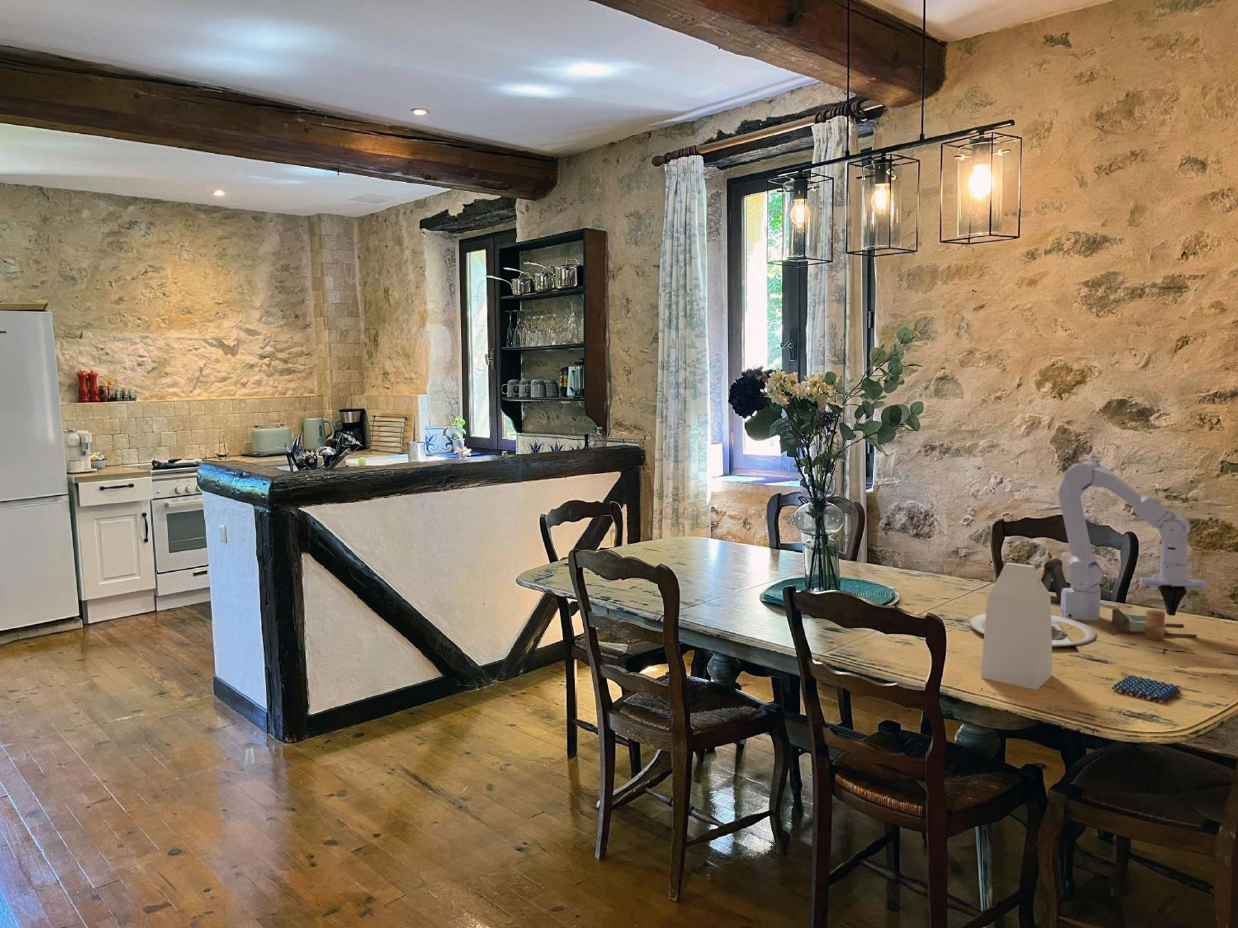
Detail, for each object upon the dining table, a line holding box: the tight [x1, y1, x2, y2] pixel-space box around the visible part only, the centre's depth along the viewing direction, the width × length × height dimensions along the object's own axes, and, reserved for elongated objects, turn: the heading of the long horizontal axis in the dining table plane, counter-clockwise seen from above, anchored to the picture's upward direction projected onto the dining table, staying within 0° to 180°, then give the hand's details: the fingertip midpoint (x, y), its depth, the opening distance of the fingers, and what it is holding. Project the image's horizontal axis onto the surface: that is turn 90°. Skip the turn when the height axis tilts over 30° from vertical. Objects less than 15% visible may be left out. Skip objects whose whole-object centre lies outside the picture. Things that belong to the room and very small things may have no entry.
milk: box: [980, 562, 1053, 691], centre depth 196 cm, size 12×12×26 cm
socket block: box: [1122, 612, 1166, 633], centre depth 226 cm, size 8×8×3 cm
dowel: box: [1144, 609, 1166, 642], centre depth 218 cm, size 4×4×7 cm
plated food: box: [970, 612, 1097, 648], centre depth 229 cm, size 30×30×3 cm
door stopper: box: [1040, 558, 1069, 605], centre depth 261 cm, size 9×6×12 cm, turn 42°
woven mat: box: [1111, 674, 1181, 704], centre depth 187 cm, size 10×11×2 cm
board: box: [1111, 608, 1197, 639], centre depth 223 cm, size 17×16×5 cm
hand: (1170, 614), depth 224 cm, fingers closed
